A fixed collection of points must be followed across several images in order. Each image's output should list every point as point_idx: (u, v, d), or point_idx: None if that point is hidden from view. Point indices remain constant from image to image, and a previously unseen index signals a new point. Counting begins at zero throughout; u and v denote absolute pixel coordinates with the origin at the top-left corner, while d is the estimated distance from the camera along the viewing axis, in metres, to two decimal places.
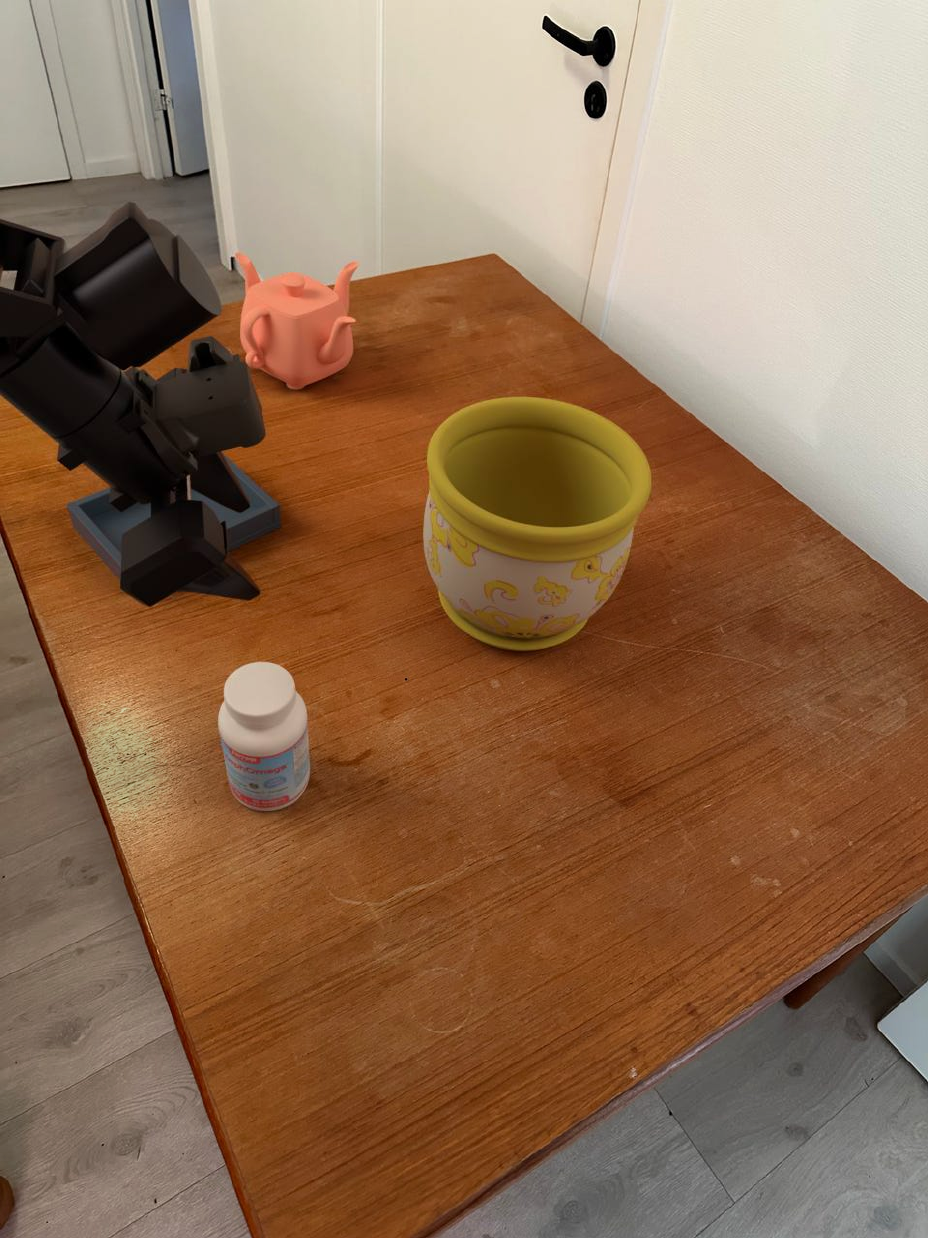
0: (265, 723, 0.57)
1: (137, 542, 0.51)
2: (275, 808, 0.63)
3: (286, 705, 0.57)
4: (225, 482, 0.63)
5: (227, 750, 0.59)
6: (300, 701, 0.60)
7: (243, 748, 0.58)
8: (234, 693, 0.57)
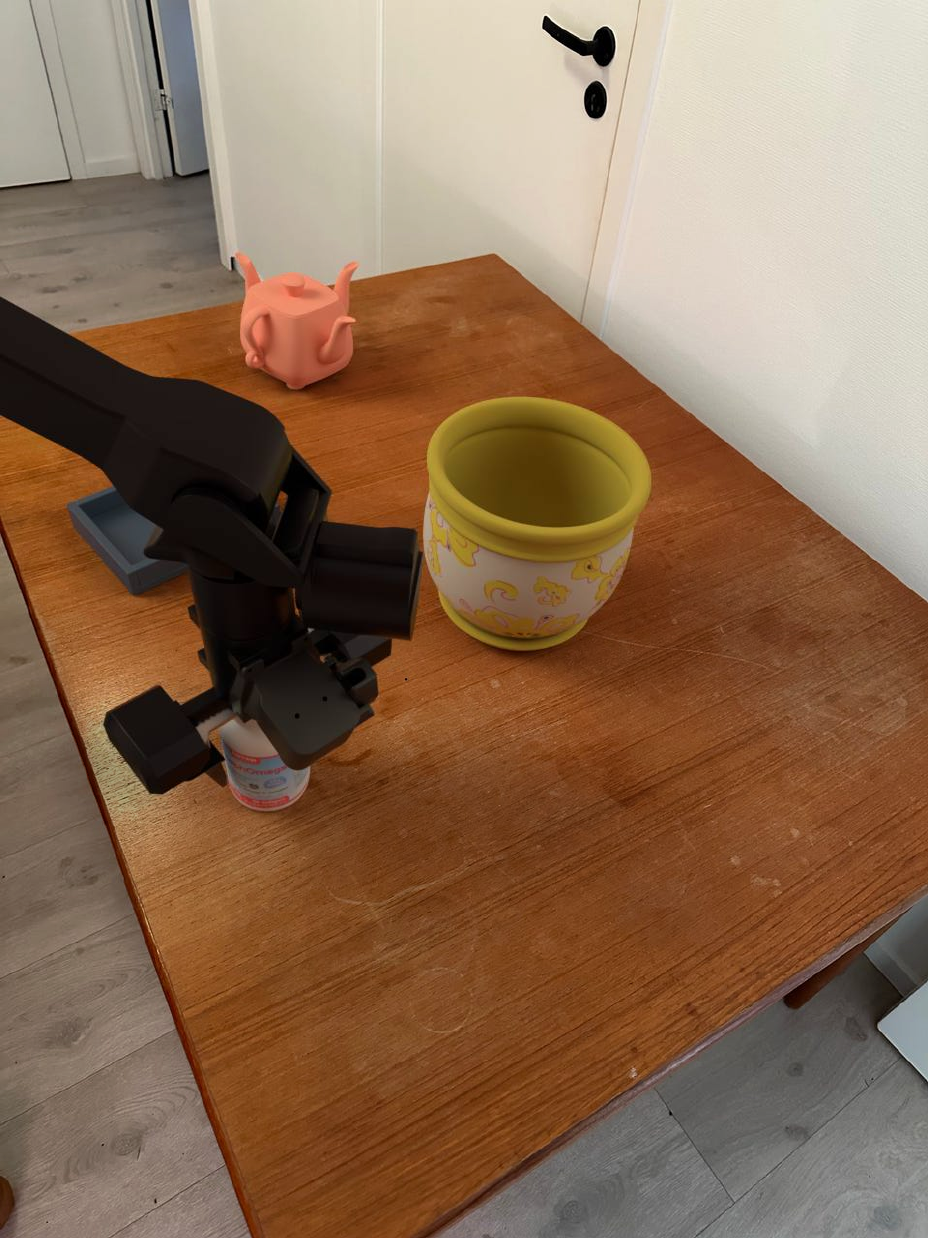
0: None
1: (146, 710, 0.53)
2: (275, 808, 0.63)
3: None
4: None
5: (227, 750, 0.59)
6: None
7: (243, 748, 0.58)
8: None
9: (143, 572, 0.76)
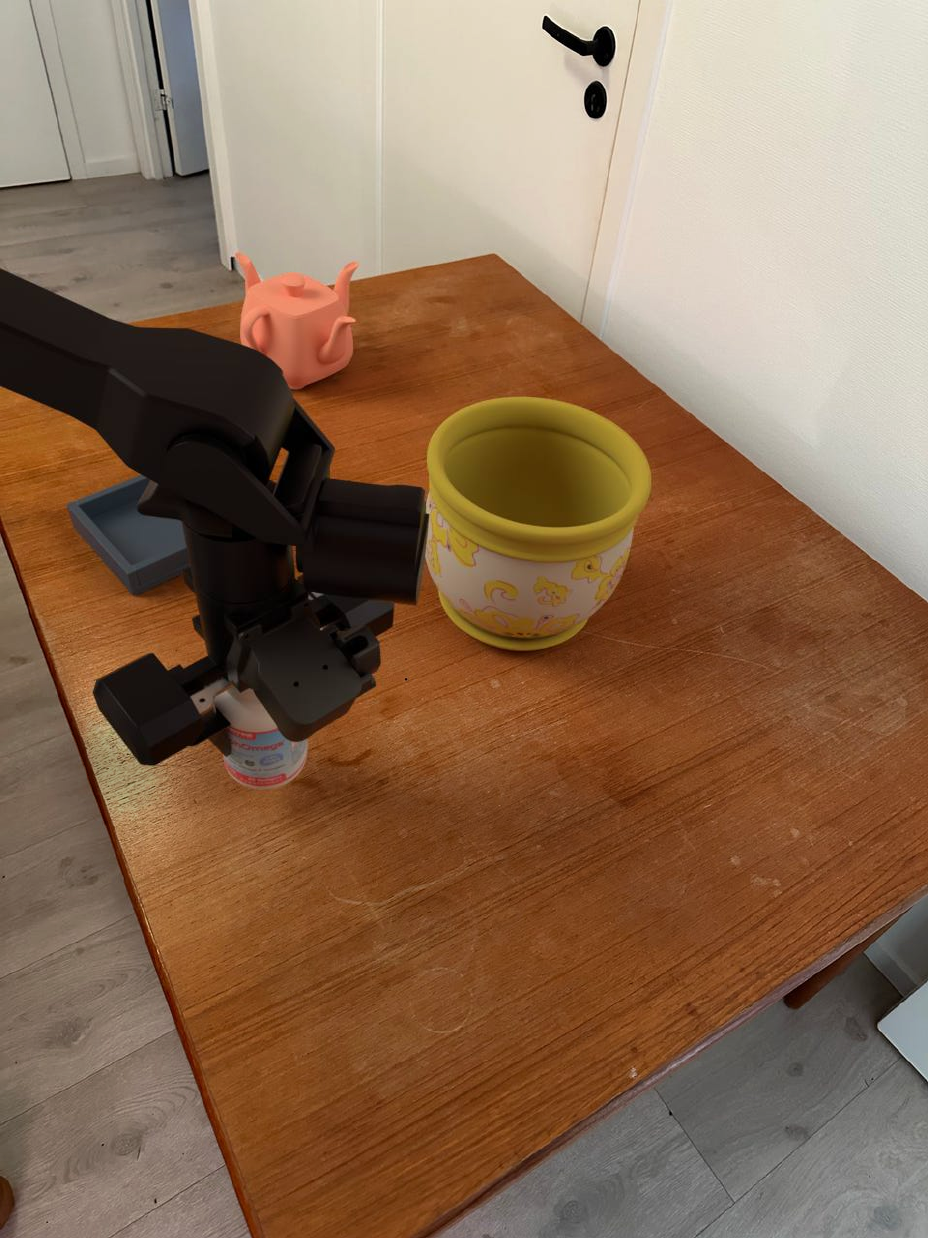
0: None
1: (138, 678, 0.50)
2: (271, 787, 0.61)
3: None
4: None
5: None
6: None
7: (239, 723, 0.56)
8: None
9: (143, 572, 0.76)
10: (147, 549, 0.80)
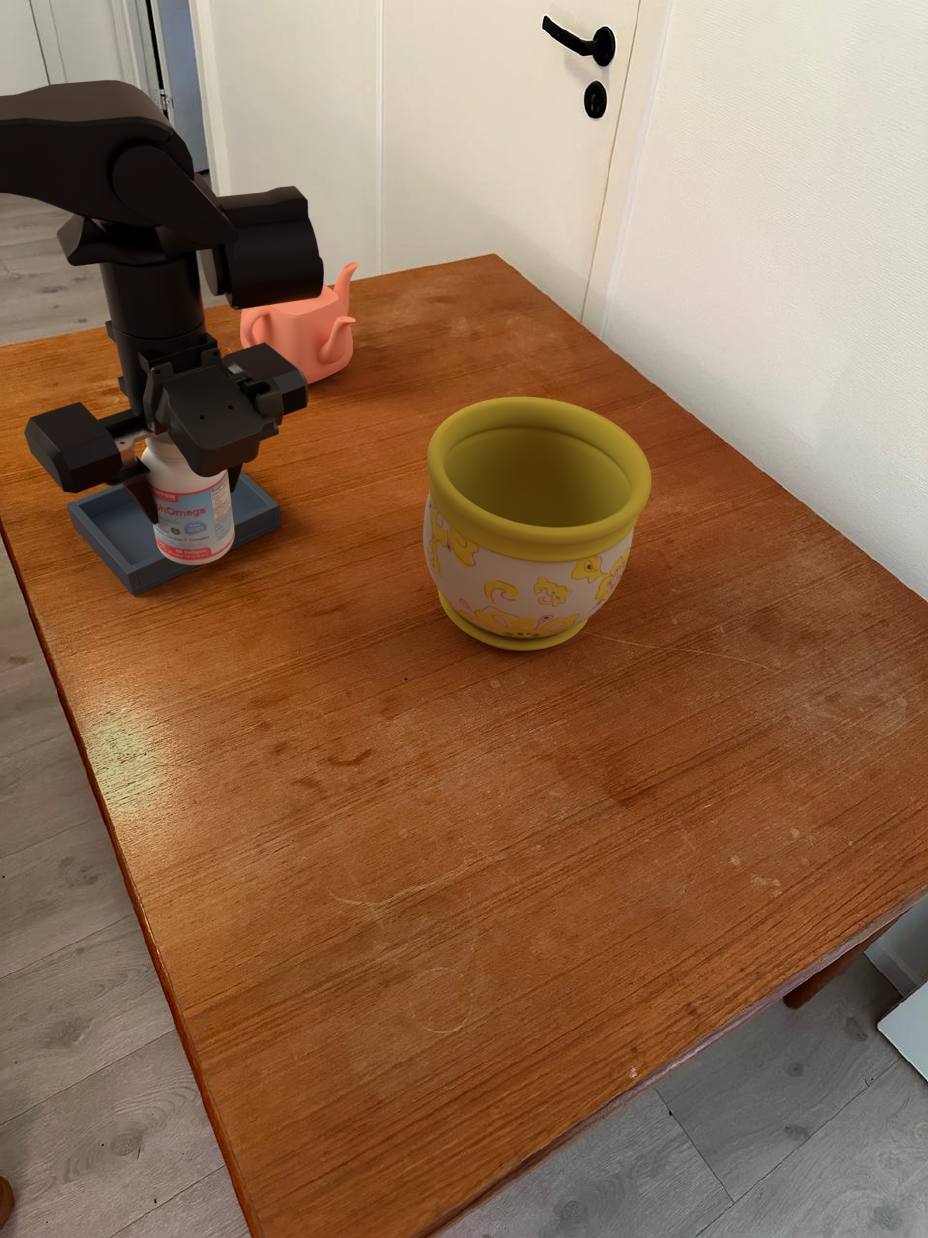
0: (181, 455, 0.60)
1: (64, 417, 0.56)
2: (198, 561, 0.67)
3: None
4: None
5: None
6: None
7: (162, 482, 0.61)
8: None
9: (143, 572, 0.76)
10: (147, 549, 0.80)
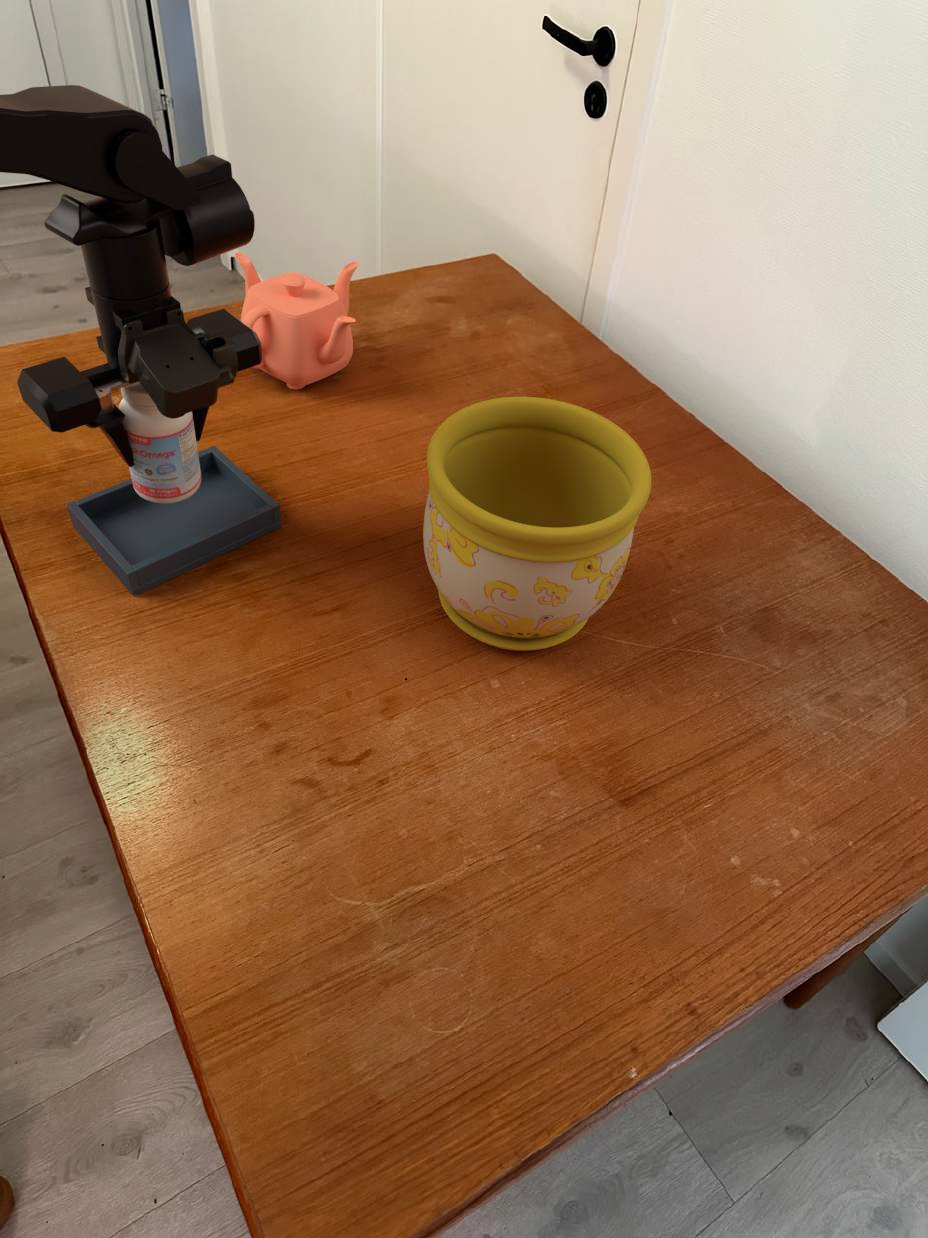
0: (152, 403, 0.71)
1: (51, 369, 0.66)
2: (169, 500, 0.77)
3: None
4: (193, 414, 0.76)
5: None
6: None
7: (136, 427, 0.72)
8: None
9: (143, 572, 0.76)
10: (147, 549, 0.80)
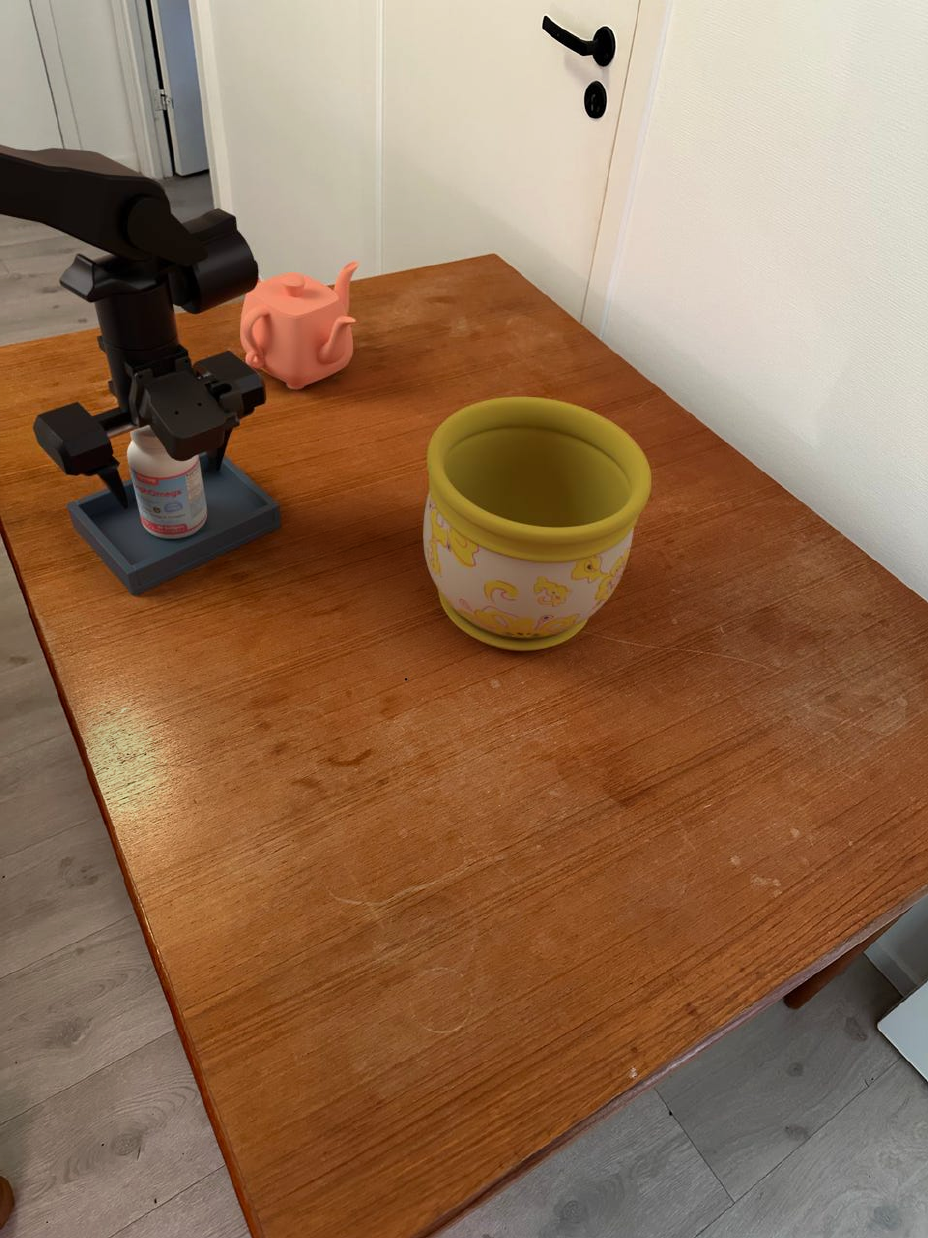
0: (160, 446, 0.74)
1: (65, 414, 0.69)
2: (176, 535, 0.81)
3: None
4: None
5: (134, 476, 0.76)
6: None
7: (144, 469, 0.75)
8: None
9: (143, 572, 0.76)
10: (147, 549, 0.80)
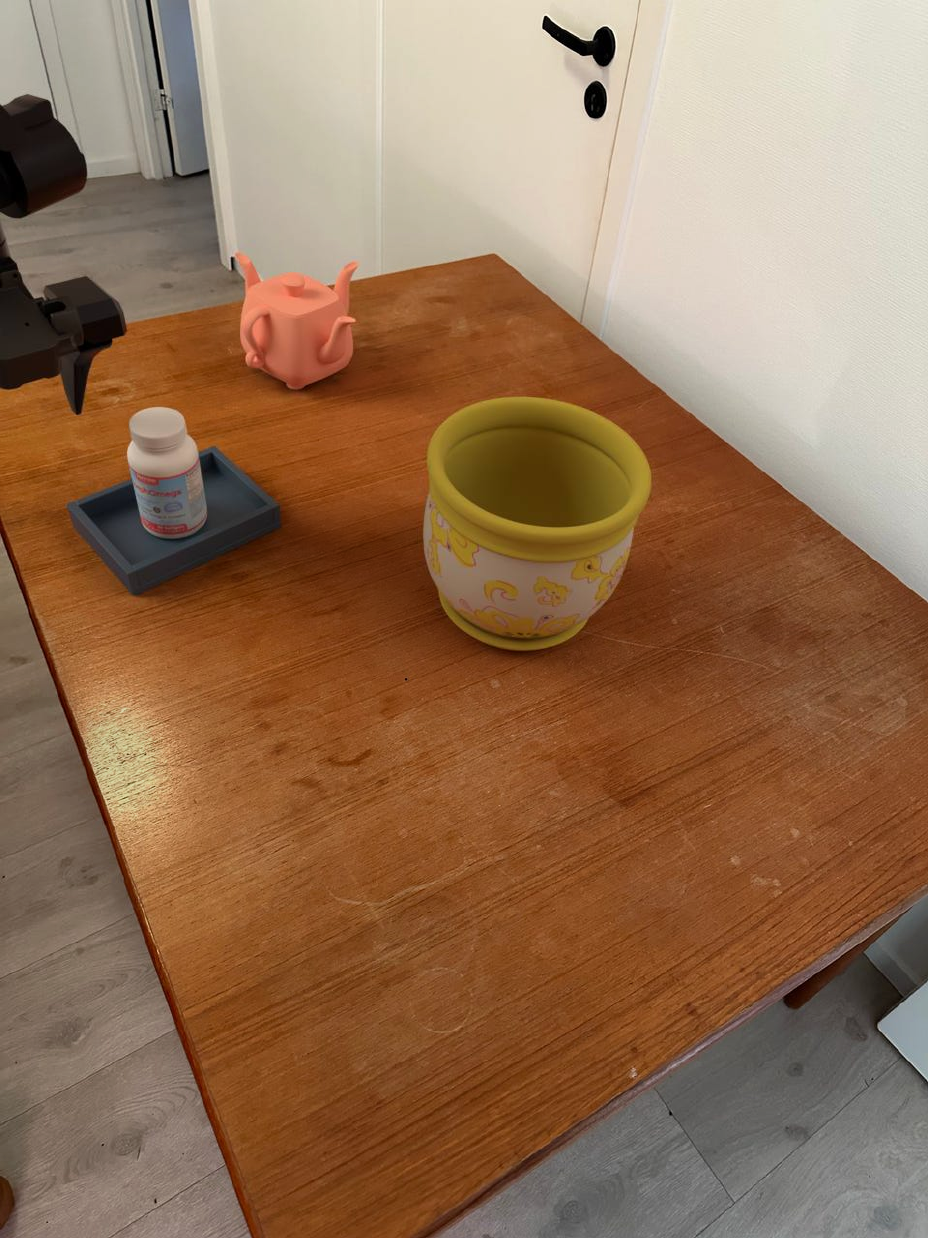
0: (160, 446, 0.74)
1: None
2: (176, 535, 0.81)
3: (176, 433, 0.74)
4: (70, 385, 0.71)
5: (134, 476, 0.76)
6: (192, 441, 0.77)
7: (144, 469, 0.75)
8: (137, 424, 0.74)
9: (143, 572, 0.76)
10: (147, 549, 0.80)
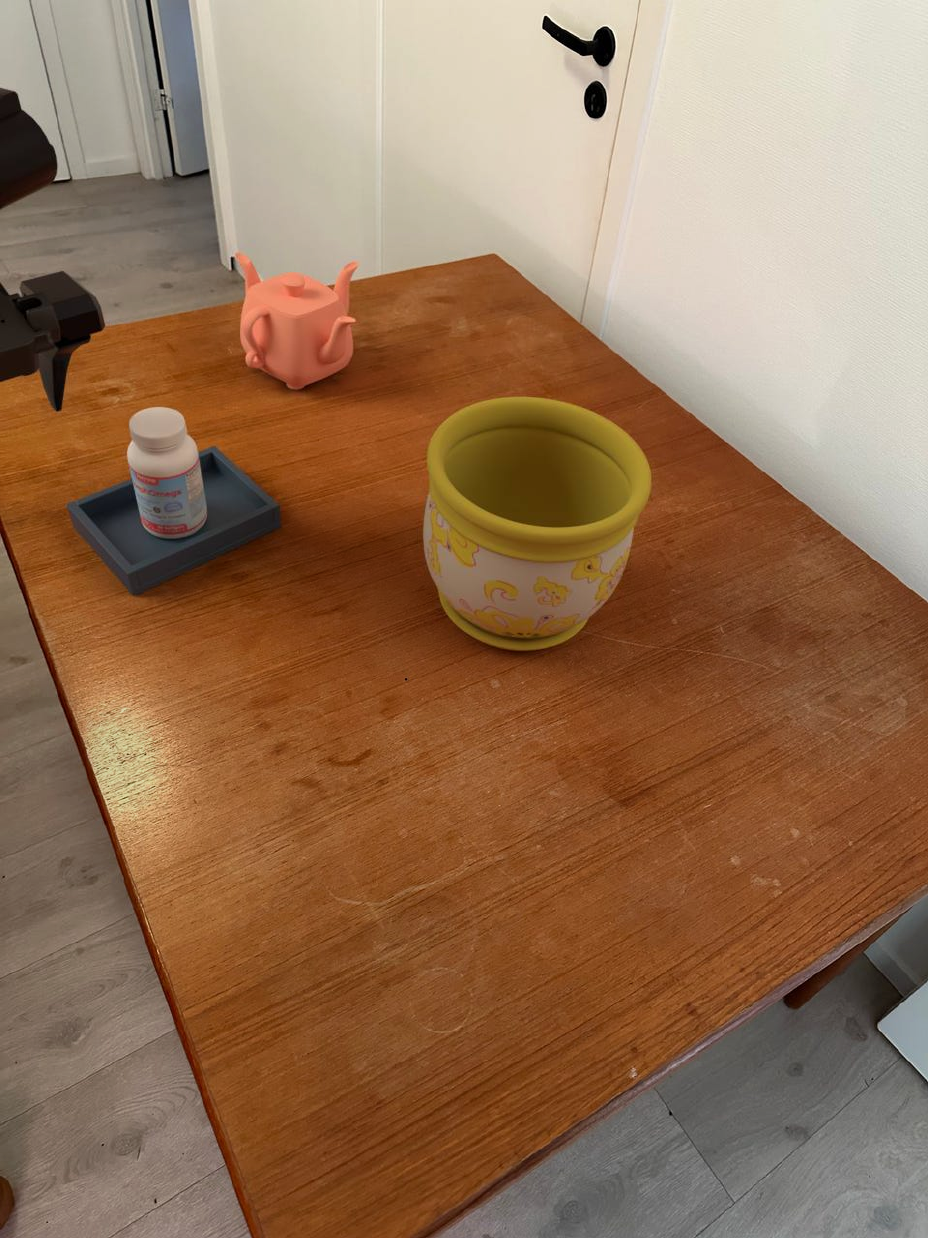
0: (160, 446, 0.74)
1: None
2: (176, 535, 0.81)
3: (176, 433, 0.74)
4: (49, 381, 0.71)
5: (134, 476, 0.76)
6: (192, 441, 0.77)
7: (144, 469, 0.75)
8: (137, 424, 0.74)
9: (143, 572, 0.76)
10: (147, 549, 0.80)
